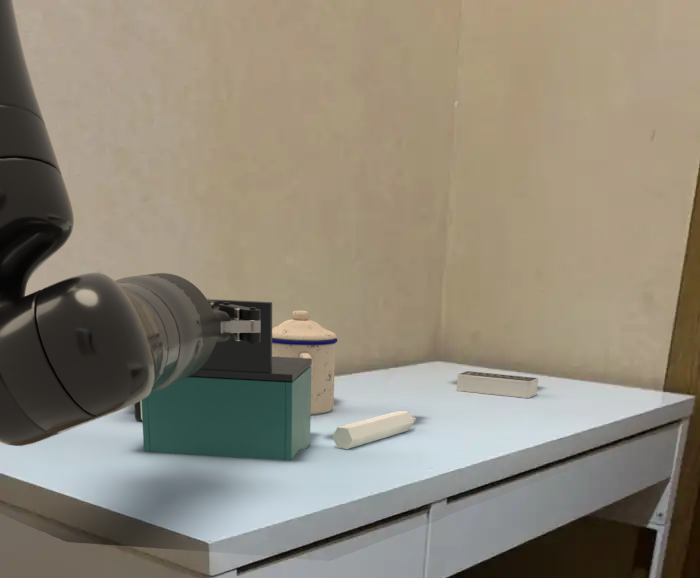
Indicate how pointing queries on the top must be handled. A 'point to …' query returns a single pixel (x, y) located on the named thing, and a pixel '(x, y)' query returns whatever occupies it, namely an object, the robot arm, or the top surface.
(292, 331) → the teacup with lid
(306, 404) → the storage box
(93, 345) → the robot arm
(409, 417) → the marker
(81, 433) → the top surface
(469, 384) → the multiport hub
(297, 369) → the box lid
